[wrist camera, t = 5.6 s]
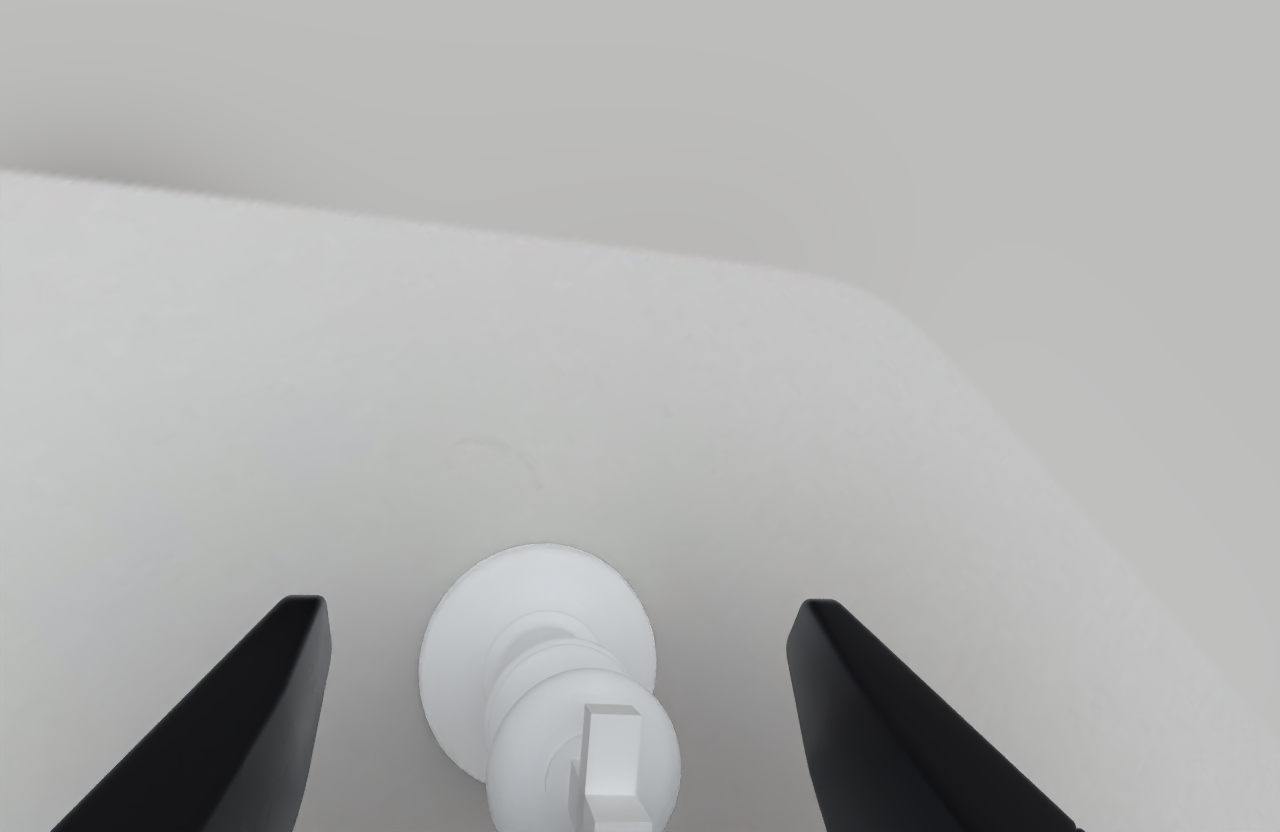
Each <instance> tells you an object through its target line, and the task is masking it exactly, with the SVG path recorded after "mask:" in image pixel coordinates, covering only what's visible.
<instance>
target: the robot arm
mask: <svg viewBox="0 0 1280 832" xmlns="http://www.w3.org/2000/svg"><path fill="white" fill-rule="evenodd" d="M786 652H787V660H788V665H789V671H790V676H791V681H792V686H793V692H794V697H795V702H796V707H797V712H798V718H799V723H800V728H801V733H802V739H803V744H804V749H805V754H806V758H807V763H808V768H809V772H810V775H811V779H812V783H813V786H814V790H815V793H816V797H817V800H818V803H819V807H820V810H821V813H822V817H823V820H824V823H825V827H826V830H827V832H1085V831H1084V830H1082V829H1080V828H1077V829H1076V825H1075V823H1074V821H1073V820H1071V819H1070V818H1069V817H1068V816H1067V815H1066V814H1065V813H1064V812H1063V811H1062V810H1061V809H1060V808H1059V807H1058V806H1057V805H1055V804H1054V803H1053V802H1052V801H1051V800H1050V799H1049V798H1048V797H1047V796H1046V795H1045V794H1044V793H1043V792H1042V791H1040V790H1039V789H1038V788H1037V787H1036V786H1035V785H1034V784H1033V783H1032V782H1031V781H1030V780H1029V779H1028V778H1027V777H1025V776H1024V775H1023V774H1022V773H1021V772H1020V771H1019V770H1018V769H1017V768H1016V767H1015V766H1014V765H1013V764H1012V763H1010V762H1009V761H1008V760H1007V759H1006V758H1005V757H1004V756H1003V755H1002V754H1001V753H1000V752H999V751H998V750H997V749H996V748H994V747H993V746H992V745H991V744H990V743H989V742H988V741H987V740H986V739H985V738H984V737H983V736H982V735H981V734H979V733H978V732H977V731H976V730H975V729H974V728H973V727H972V726H971V725H970V724H969V723H968V722H967V721H966V720H964V719H963V718H962V717H961V716H960V715H959V714H958V713H957V712H956V711H955V710H954V709H953V708H952V707H951V706H950V705H948V704H947V703H946V702H945V701H944V700H943V699H942V698H941V697H940V696H939V695H938V694H937V693H936V692H935V691H933V690H932V689H931V688H930V687H929V686H928V685H927V684H926V683H925V682H924V681H923V680H922V679H921V678H920V677H918V676H917V675H916V674H915V673H914V672H913V671H912V670H911V669H910V668H909V667H908V666H907V665H906V664H905V663H903V662H902V661H901V660H900V659H899V658H898V657H897V656H896V655H895V654H894V653H893V652H892V651H891V650H890V649H889V648H887V647H886V646H885V645H884V644H883V643H882V642H881V641H880V640H879V639H878V638H877V637H876V636H875V635H874V634H872V633H871V632H870V631H869V630H868V629H867V628H866V627H865V626H864V625H863V624H862V623H861V622H860V621H859V620H857V619H856V618H855V617H854V616H853V615H852V614H851V613H850V612H849V611H848V610H847V609H846V608H845V607H844V606H842V605H841V604H840V603H839V602H837V601H836V600H833V599H807V600H806V601H804V602H803V603H802V605H801V607H800V609H799V612H798V614H797V617H796V619H795V622H794V624H793V627H792V629H791V632H790V634H789V637H788V640H787V647H786ZM330 658H331V634H330V626H329V618H328V611H327V604H326V601H325V599H324V597H322V596H319V595H289V596H287V597H285V598H283V599H282V600H281V601H280V602H279V603H278V604H277V605H276V606H275V607H274V608H273V609H272V610H271V611H270V612H269V613H268V614H267V615H266V616H265V617H264V618H263V619H262V620H261V621H260V622H259V623H258V624H257V625H256V626H255V627H254V628H253V629H252V630H251V631H250V632H249V633H248V634H247V635H246V636H245V637H244V638H243V639H242V640H241V641H240V642H239V643H238V644H237V645H236V646H235V647H234V648H233V649H232V650H231V651H230V652H229V653H228V654H227V655H226V656H225V657H224V658H223V659H222V660H221V661H220V662H219V663H218V664H217V665H216V666H215V667H214V668H213V669H212V670H211V671H210V672H209V673H208V674H207V675H206V676H205V677H204V678H203V679H202V680H201V681H200V682H199V683H198V684H197V685H196V686H195V687H194V688H193V689H192V690H191V691H190V692H189V693H188V694H187V695H186V696H185V697H184V698H183V699H182V700H181V701H180V702H179V703H178V704H177V705H176V706H175V707H174V708H173V709H172V710H171V711H170V712H169V713H168V714H167V715H166V716H165V717H164V718H163V719H162V720H161V721H160V722H159V723H158V724H157V725H156V726H155V727H154V728H153V729H152V730H151V731H150V732H149V733H148V734H147V735H146V736H145V737H144V738H143V739H142V740H141V741H140V742H139V743H138V744H137V745H136V746H135V747H134V748H133V749H132V750H131V751H130V752H129V753H128V754H127V755H126V756H125V757H124V758H123V759H122V760H121V761H120V762H119V763H118V764H117V765H116V766H115V767H114V768H113V769H112V770H111V771H110V772H109V773H108V774H107V775H106V776H105V777H104V778H103V779H102V780H101V781H100V782H99V783H98V784H97V785H96V786H95V787H94V788H93V789H92V790H91V791H90V792H89V793H88V794H87V795H86V796H85V797H84V798H83V799H82V800H81V801H80V802H79V803H78V804H77V805H76V806H75V807H74V808H73V809H72V810H71V811H70V812H69V813H68V814H67V815H66V816H65V817H64V818H63V819H62V820H61V821H60V822H59V823H58V824H57V825H56V826H55V827H54V828H53V829H52V830H51V831H50V832H293V828H294V825H295V822H296V819H297V816H298V812H299V809H300V805H301V802H302V798H303V794H304V791H305V786H306V781H307V777H308V772H309V768H310V763H311V757H312V752H313V747H314V742H315V737H316V732H317V726H318V721H319V716H320V711H321V706H322V701H323V695H324V690H325V685H326V680H327V675H328V670H329V664H330Z"/></svg>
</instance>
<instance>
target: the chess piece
mask: <svg viewBox="0 0 1280 832" xmlns="http://www.w3.org/2000/svg"><path fill="white" fill-rule="evenodd" d="M656 665H657V661H656V647H655V641H654V636H653V632H652V628H651V625H650V622H649V619H648V617H647V614H646V612H645V610H644V608H643V606H642V604H641V602H640V600H639V599H638V597H637V595H636V594H635V592H634V591H633V589H632V588H631V587H630V585H629V584H628V583H627V582H626V580H625V579H624V578H623V577H622V576H621V575H620V574H619V573H618V572H617V571H615V570H614V569H613V568H612V567H611V566H609V565H608V564H607V563H605V562H604V561H602V560H601V559H599V558H597V557H595V556H594V555H592V554H589V553H587V552H585V551H582V550H580V549H577V548H573V547H569V546H565V545H559V544H548V543H538V544H528V545H521V546H517V547H513V548H509V549H506V550H503V551H501V552H498V553H496V554H494V555H492V556H490V557H488V558H486V559H484V560H482V561H481V562H479V563H478V564H476V565H475V566H473V567H472V568H471V569H469V570H468V571H467V572H466V573H464V574H463V575H462V576H461V577H460V578H459V579H458V580H457V581H456V582H455V583H454V584H453V585H452V586H451V587H450V589H449V590H448V591H447V592H446V594H445V595H444V596H443V598H442V599H441V601H440V602H439V604H438V605H437V607H436V609H435V611H434V613H433V615H432V617H431V619H430V621H429V624H428V626H427V629H426V631H425V635H424V638H423V642H422V646H421V651H420V658H419V689H420V696H421V701H422V705H423V708H424V712H425V715H426V718H427V721H428V723H429V726H430V728H431V730H432V732H433V734H434V736H435V738H436V740H437V741H438V743H439V744H440V746H441V747H442V749H443V750H444V751H445V753H446V754H447V755H448V756H449V757H450V759H451V760H452V761H453V762H454V763H455V764H456V765H458V766H459V767H460V768H461V769H462V770H463V771H465V772H466V773H467V774H469V775H470V776H472V777H473V778H475V779H477V780H479V781H480V782H482V783H484V784H486V794H487V801H488V807H489V810H490V814H491V817H492V820H493V823H494V825H495V827H496V830H497V832H663V830H664V829H665V827H666V825H667V824H668V822H669V819H670V817H671V815H672V813H673V810H674V807H675V804H676V801H677V797H678V793H679V788H680V780H681V756H680V749H679V743H678V739H677V736H676V733H675V730H674V727H673V725H672V722H671V720H670V718H669V716H668V714H667V713H666V711H665V710H664V708H663V707H662V705H661V704H660V703H659V701H658V700H657V699H656V698H655V697H654V696H653V691H654V686H655V680H656Z"/></svg>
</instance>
